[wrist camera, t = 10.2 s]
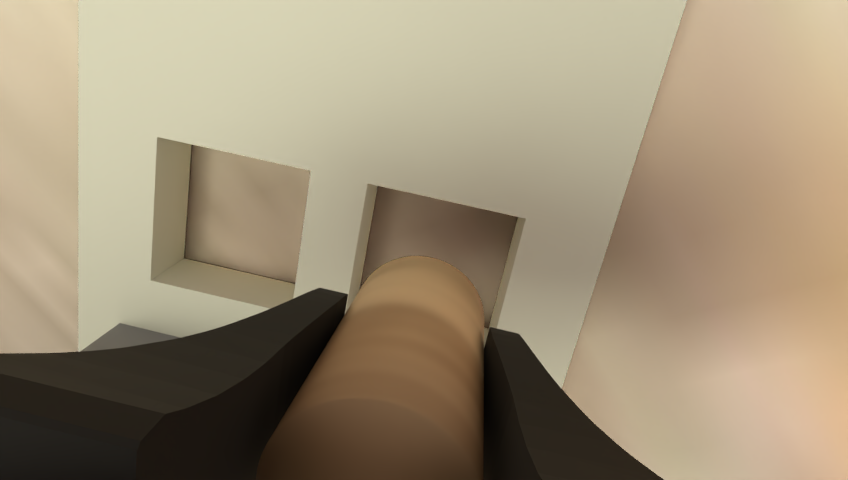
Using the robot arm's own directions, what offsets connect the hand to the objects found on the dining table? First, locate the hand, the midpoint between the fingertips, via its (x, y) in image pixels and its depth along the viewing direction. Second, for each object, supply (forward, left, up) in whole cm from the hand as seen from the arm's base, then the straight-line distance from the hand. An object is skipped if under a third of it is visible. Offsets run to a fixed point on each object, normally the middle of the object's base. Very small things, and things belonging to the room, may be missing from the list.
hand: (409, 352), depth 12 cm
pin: (0, 0, -1) cm, 1 cm away
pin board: (0, +3, -6) cm, 7 cm away
